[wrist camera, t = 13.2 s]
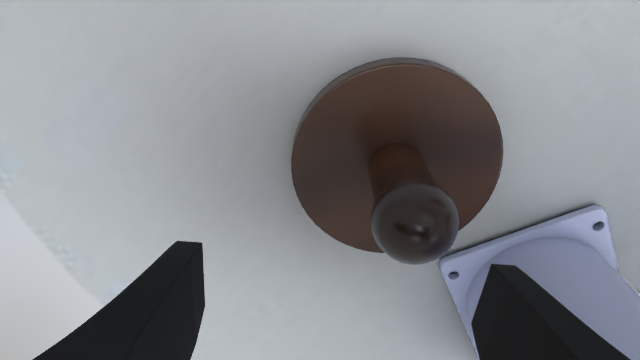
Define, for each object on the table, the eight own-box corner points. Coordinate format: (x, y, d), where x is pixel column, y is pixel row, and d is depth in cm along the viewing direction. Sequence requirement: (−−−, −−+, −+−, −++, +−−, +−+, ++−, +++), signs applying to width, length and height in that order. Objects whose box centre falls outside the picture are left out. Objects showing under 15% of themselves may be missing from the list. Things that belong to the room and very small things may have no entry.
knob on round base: (517, 201, 21) (590, 298, 15) (341, 265, 23) (348, 373, 17) (462, 18, 17) (532, 56, 11) (256, 112, 19) (228, 186, 13)
